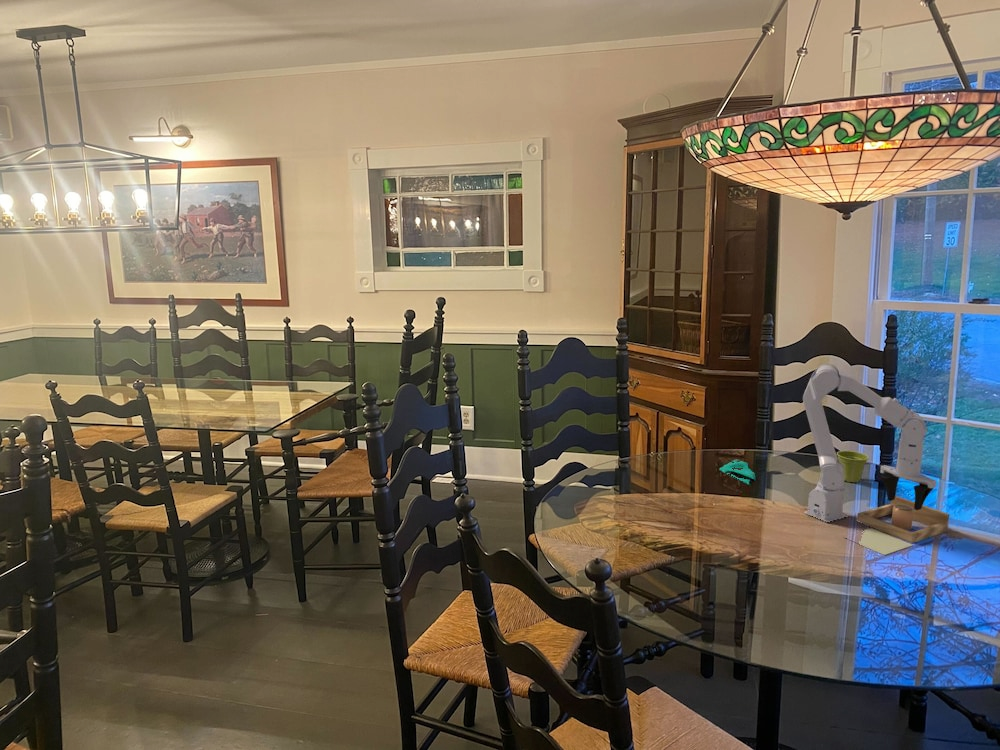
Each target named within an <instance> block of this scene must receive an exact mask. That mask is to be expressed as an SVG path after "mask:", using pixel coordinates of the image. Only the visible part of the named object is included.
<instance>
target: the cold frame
mask: <svg viewBox="0 0 1000 750" xmlns="http://www.w3.org/2000/svg"><path fill="white" fill-rule="evenodd" d="M914 504H915V501H912V500H909V499H907V498H903V497H900V496H897V495H895V499H894V500H892V501H890V503H889V504H885V505H881V506H879V507H875V508H872V509H871V508H870V509H867V510H865V511H861V512H858V513H857V516H856V521H857V520H858V521H860V522H862V523H864V524H866V525H865V526H867V525H868V526H867V527H869V526H870V527H869V528H872V527H873V528H872V529H874V528H875V530H877V531H880V532H882V533H885V534H887V535H890V536H892V537H895V538H897V539H900V540H902V541H905V542H907V543H910V544H914V543H916V542H920V541H923V540H925V539H928V537H929V538H931V537H934V535H935V536H937V534H938V535H940V534H943V533H945V532H946V533H947V532H948V529H949V521H950V516H951V515H950V513H947V512H944V511H941V510H938V509H936V508H932V507H929V506H927V505H924V504H923V505H922V508H921V509H919V510H915V509H914ZM894 505H906V506H909V507H911V508H913V509H914V513H913V521H914V522H917V523H920V524H923V525H925V526H926V527H923V528H922V529H918V530H914V531H910V530H904V529H902V528H899V527H896V526H894V525H891V523H888V522H886V521H882V520H881V519H878V518H881V517H885V516H886V515H890V514H892V513H893V506H894ZM877 517H878V518H877ZM862 523H861V524H862ZM864 524H863V525H864Z"/></svg>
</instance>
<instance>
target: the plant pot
mask: <svg viewBox="0 0 1000 750" xmlns="http://www.w3.org/2000/svg"><path fill="white" fill-rule="evenodd" d="M836 454H837V458H838V460H839V461H840V463H841V464H842V465H843V466H844V479H845V480H844V482H845V481H846V482H847V483H850V482H853V484H855V483H854V482H857V483H859V481H860V482H861V479H862V475H863V472H864V469H865V465H866V463H867V462H868V460H869V456H868V455H867V454H865V453H862V452H860V451H854V450H852V451H850V450H840V451H837V452H836Z"/></svg>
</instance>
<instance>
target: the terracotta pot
mask: <svg viewBox="0 0 1000 750" xmlns="http://www.w3.org/2000/svg"><path fill="white" fill-rule="evenodd" d="M913 513H914V509H913V508H911V507H909V506H906V505H894V506H893V513H891V514H892V515H891V521H890V524H891V525H894V526H896V527H899V528H902V529H904V530H907V531H911V530H912V529H913V521H914V520H913Z"/></svg>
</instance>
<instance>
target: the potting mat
mask: <svg viewBox="0 0 1000 750" xmlns="http://www.w3.org/2000/svg"><path fill="white" fill-rule="evenodd" d="M862 531H863V530H862ZM864 531H865V532H864ZM864 531H863V532H864V533H863V532H862V533H863V535H861V536H862V538H861V541H859V544H860V546H861V545H862V547H864V548H866V549H869V550H871V551H873V552H875V553H879V554H880V555H882V556H886V555H889V554H892V553H895V552H898V551H901V550H904V549H907V548H910V547H913V546H914V543H910V542H907V541H905V540H902V539H900V538H897V537H895V536H892V535H890V534H887V533H885V532H882V531H879V530H877V529H874V528H872V527H869V528H867V529H864ZM859 544H858V545H859Z"/></svg>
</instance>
